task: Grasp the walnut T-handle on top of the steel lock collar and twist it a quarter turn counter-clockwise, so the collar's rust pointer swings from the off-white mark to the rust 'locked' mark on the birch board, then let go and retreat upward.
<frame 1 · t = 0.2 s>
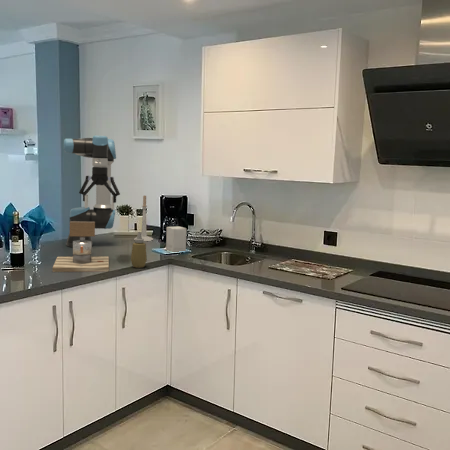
hand: (99, 208, 261), 29 cm above the worktop, fingers open, 13 cm apart
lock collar: (82, 237, 256), point 14 cm above the worktop, hinge at 0.0°
squeeze bottle: (138, 267, 262), on the worktop
supplement box: (175, 252, 303), on the worktop
candlestick: (143, 240, 339), on the worktop
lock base: (82, 265, 259), on the worktop
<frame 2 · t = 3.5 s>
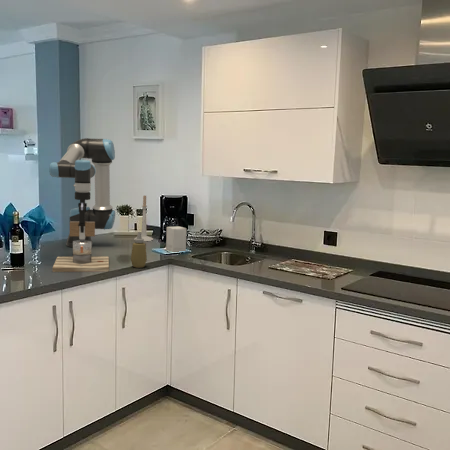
hand: (82, 238, 257), 14 cm above the worktop, fingers closed on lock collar, 3 cm apart
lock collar: (82, 237, 256), point 14 cm above the worktop, hinge at 0.0°, touching gripper
everything else where it was.
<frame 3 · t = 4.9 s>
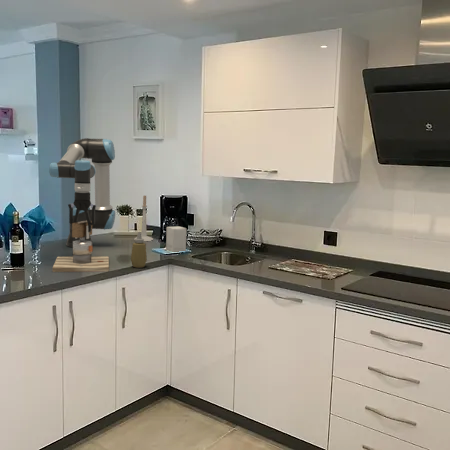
hand: (82, 238, 257), 14 cm above the worktop, fingers closed on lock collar, 5 cm apart
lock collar: (83, 237, 256), point 14 cm above the worktop, hinge at 56.3°, touching gripper
everything else where it was.
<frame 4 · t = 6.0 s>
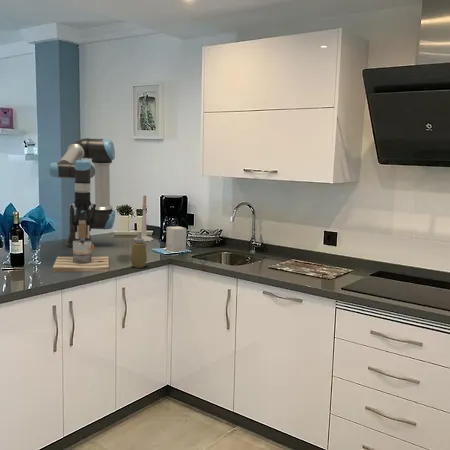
hand: (82, 238, 257), 14 cm above the worktop, fingers closed on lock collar, 5 cm apart
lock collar: (83, 237, 257), point 14 cm above the worktop, hinge at 93.3°, touching gripper
everything else where it was.
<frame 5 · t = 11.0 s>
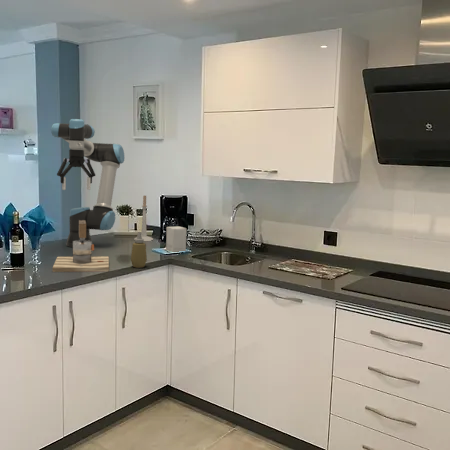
hand: (76, 189, 272), 37 cm above the worktop, fingers open, 13 cm apart
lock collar: (83, 237, 257), point 14 cm above the worktop, hinge at 94.1°
everything else where it was.
at the end: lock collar at +94° (first picture: +0°); the gripper is holding nothing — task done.
